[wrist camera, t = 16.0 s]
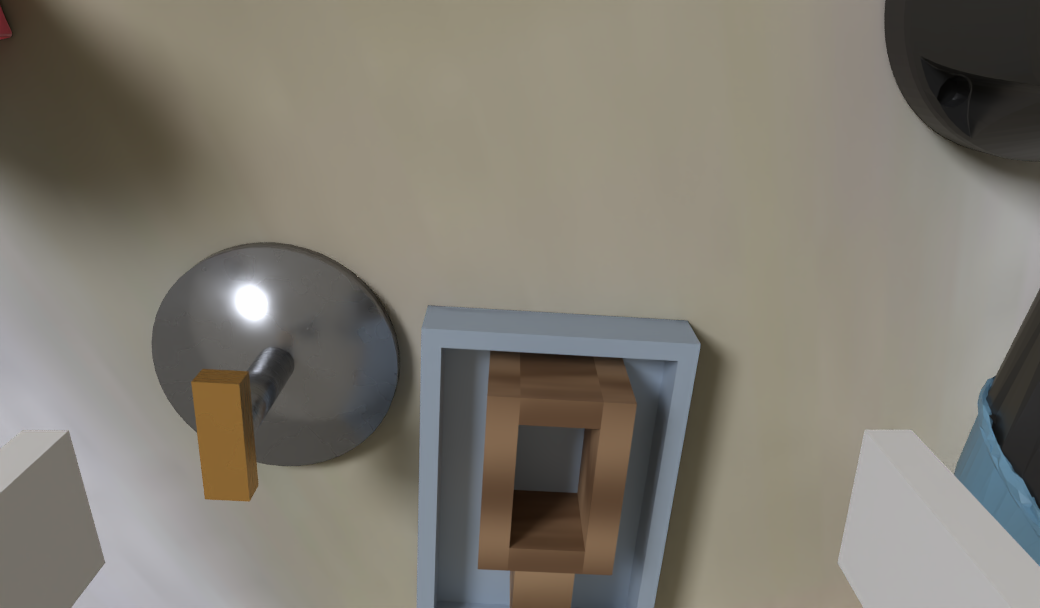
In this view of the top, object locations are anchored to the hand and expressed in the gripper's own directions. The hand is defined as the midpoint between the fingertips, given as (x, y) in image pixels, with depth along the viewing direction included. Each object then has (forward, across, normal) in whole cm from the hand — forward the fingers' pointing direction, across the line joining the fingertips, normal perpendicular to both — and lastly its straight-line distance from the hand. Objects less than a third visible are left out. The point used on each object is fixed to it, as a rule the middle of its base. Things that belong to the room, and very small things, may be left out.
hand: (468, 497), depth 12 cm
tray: (+26, +2, -18) cm, 31 cm away
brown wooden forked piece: (+25, +2, -17) cm, 31 cm away
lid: (+25, -12, -10) cm, 30 cm away
